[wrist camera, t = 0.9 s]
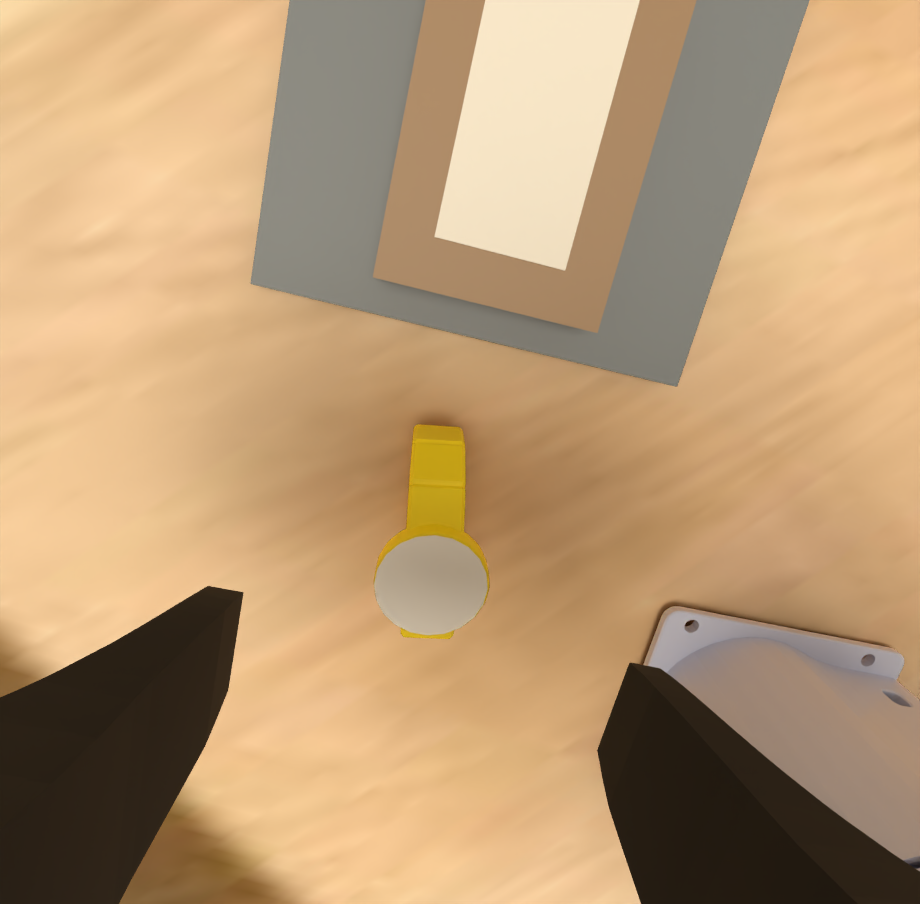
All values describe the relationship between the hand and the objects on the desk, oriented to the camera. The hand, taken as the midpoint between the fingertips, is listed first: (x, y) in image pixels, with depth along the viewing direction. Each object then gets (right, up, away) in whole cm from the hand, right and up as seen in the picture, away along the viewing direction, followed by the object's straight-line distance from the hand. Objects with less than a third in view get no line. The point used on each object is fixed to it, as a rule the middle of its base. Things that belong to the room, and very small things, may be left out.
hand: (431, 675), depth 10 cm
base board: (+2, +13, +6) cm, 14 cm away
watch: (0, +3, +9) cm, 9 cm away
